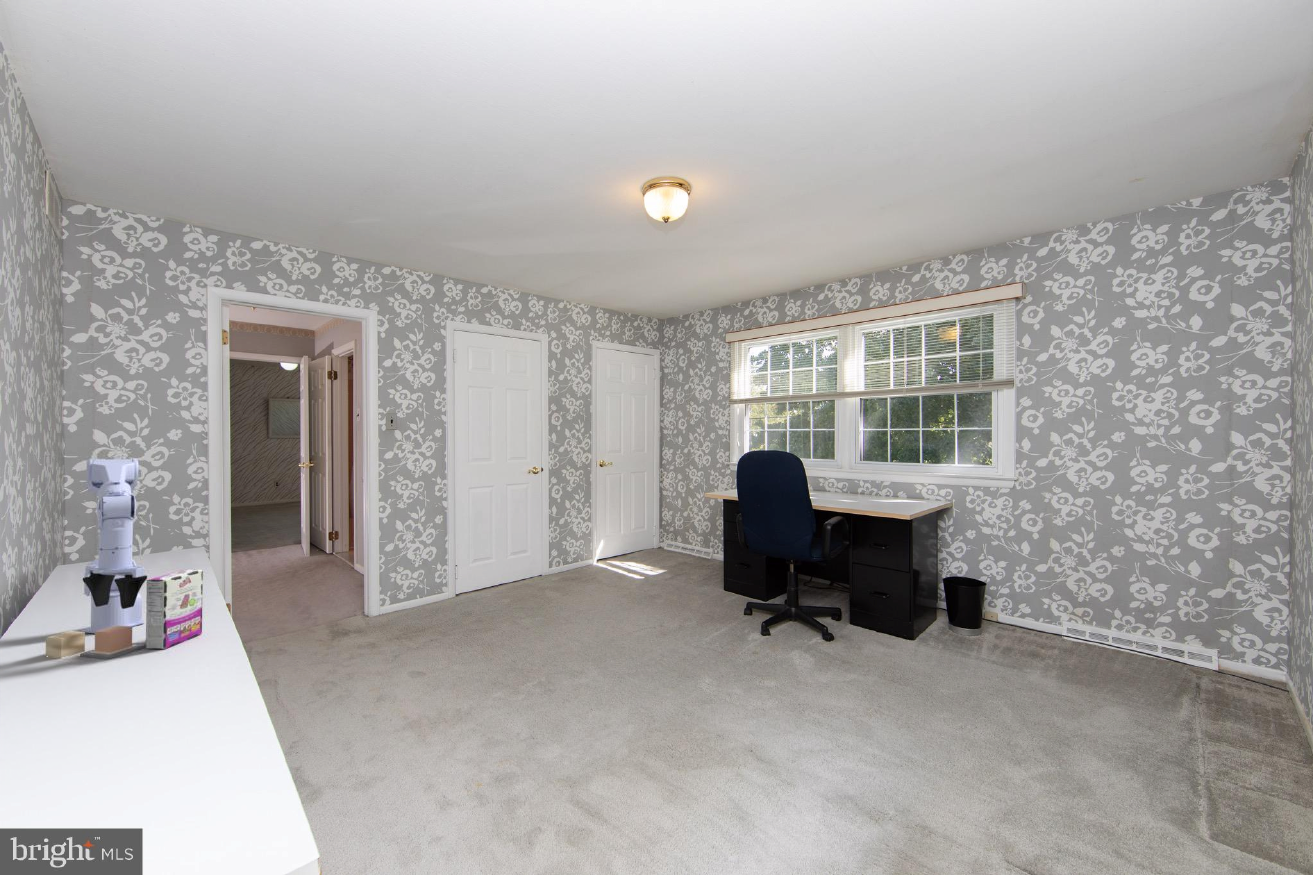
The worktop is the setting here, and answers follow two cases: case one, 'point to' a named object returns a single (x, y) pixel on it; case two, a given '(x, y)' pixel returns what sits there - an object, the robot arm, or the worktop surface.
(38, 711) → the worktop surface
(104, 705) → the worktop surface
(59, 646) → the maple cube
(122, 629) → the terracotta cube
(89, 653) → the build plate
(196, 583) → the candy bar box
